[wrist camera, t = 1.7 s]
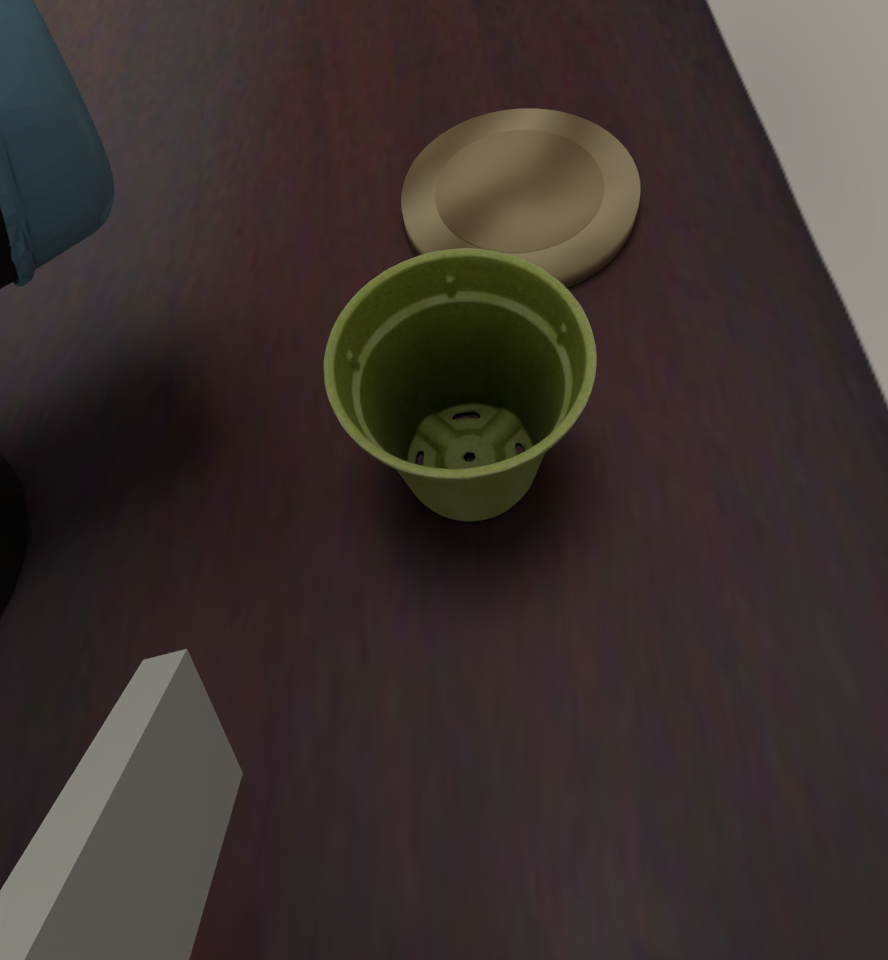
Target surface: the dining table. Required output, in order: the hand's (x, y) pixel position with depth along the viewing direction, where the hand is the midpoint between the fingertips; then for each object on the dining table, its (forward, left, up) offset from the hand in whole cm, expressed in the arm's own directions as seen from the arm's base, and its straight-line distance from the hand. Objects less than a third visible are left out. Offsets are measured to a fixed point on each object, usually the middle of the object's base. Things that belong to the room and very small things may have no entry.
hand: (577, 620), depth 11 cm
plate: (-14, +23, -15) cm, 31 cm away
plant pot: (-8, +8, -16) cm, 19 cm away
